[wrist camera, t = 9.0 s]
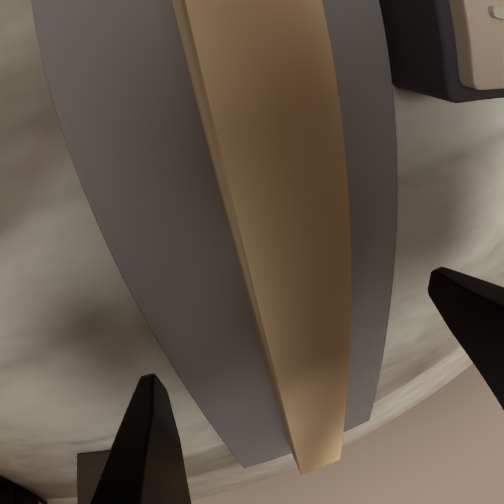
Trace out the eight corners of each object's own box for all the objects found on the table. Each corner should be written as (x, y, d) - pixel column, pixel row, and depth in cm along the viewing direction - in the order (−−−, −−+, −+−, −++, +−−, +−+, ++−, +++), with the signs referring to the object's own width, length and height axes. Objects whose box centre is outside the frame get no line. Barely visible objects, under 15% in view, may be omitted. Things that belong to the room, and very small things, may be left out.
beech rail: (288, 442, 17) (301, 474, 15) (153, -86, 4) (155, -133, 2) (324, 428, 17) (340, 459, 15) (247, -96, 4) (277, -140, 2)
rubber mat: (241, 460, 18) (243, 468, 18) (31, -77, 3) (24, -84, 2) (365, 413, 19) (369, 420, 19) (328, -121, 4) (336, -127, 4)
